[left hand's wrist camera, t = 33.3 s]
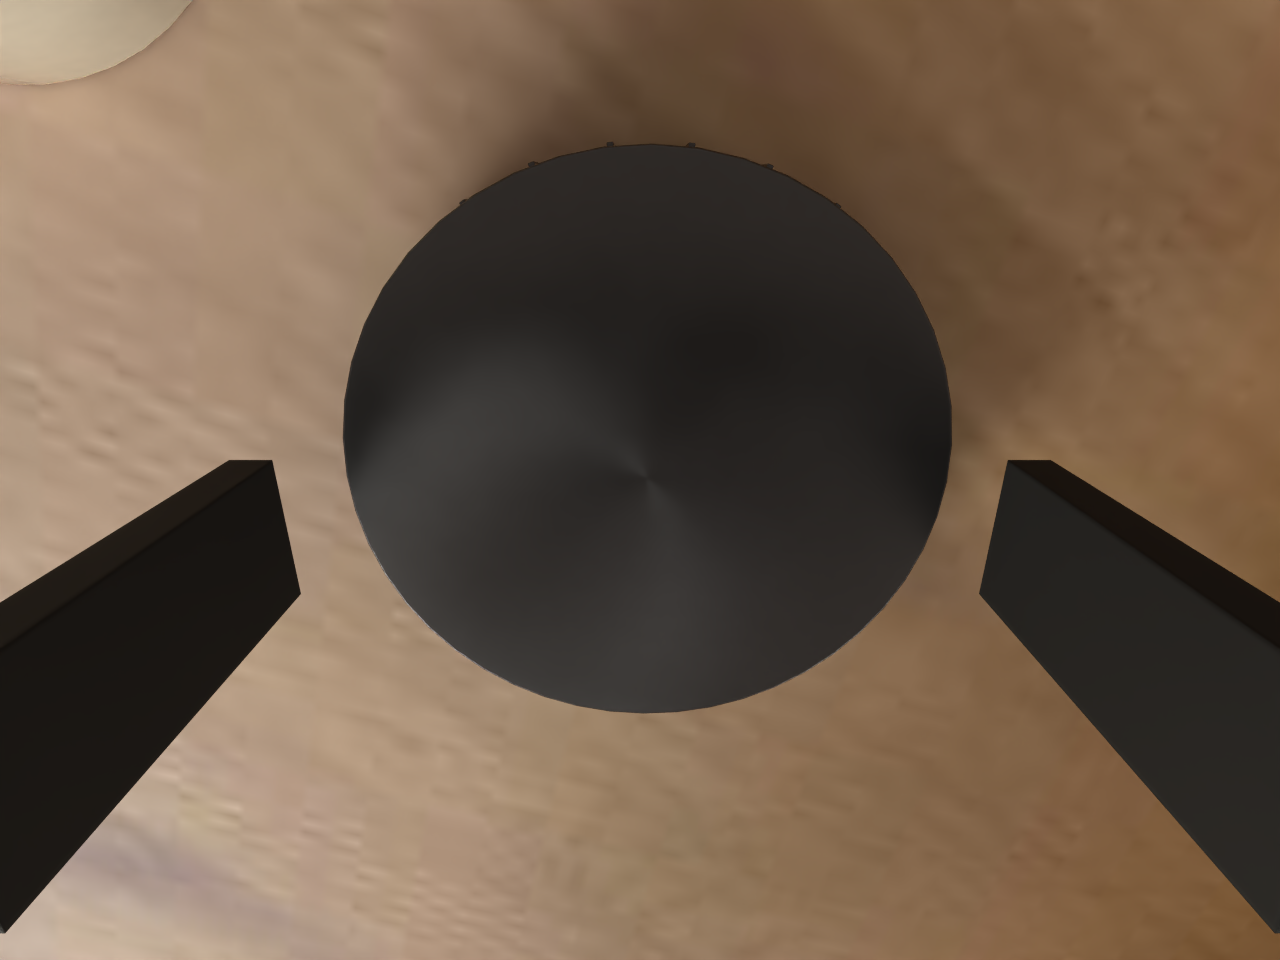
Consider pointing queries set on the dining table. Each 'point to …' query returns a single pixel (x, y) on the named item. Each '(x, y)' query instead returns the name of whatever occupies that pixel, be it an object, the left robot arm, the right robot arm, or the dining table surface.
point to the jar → (76, 36)
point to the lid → (647, 428)
